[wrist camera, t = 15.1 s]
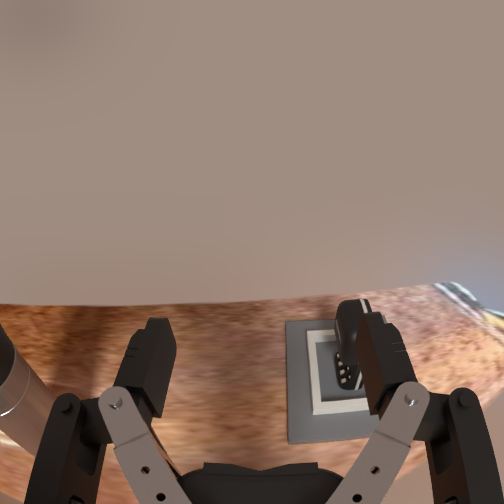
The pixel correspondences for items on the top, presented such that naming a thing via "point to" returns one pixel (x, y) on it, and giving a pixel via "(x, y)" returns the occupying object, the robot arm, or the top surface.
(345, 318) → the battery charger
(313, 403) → the holder
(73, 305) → the top surface
